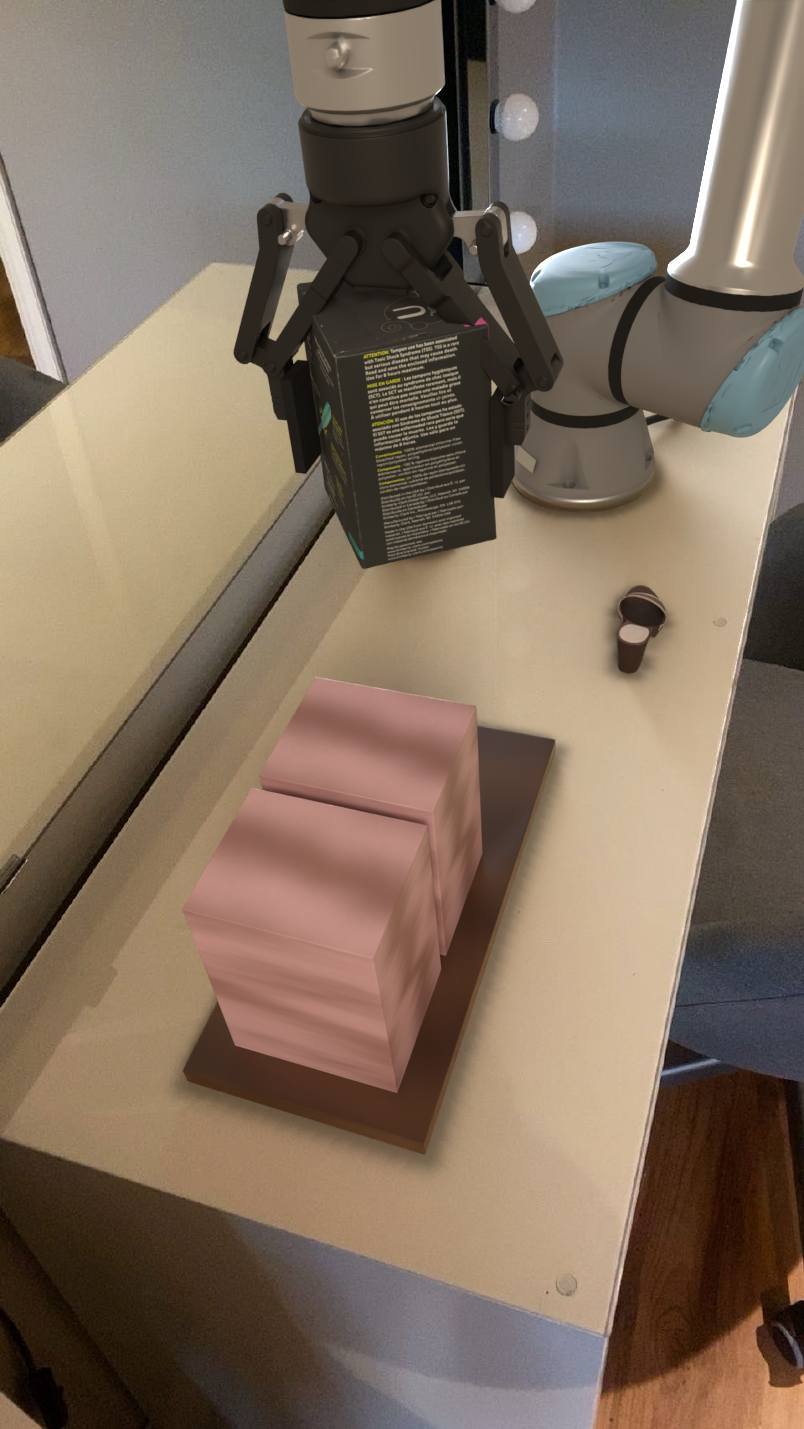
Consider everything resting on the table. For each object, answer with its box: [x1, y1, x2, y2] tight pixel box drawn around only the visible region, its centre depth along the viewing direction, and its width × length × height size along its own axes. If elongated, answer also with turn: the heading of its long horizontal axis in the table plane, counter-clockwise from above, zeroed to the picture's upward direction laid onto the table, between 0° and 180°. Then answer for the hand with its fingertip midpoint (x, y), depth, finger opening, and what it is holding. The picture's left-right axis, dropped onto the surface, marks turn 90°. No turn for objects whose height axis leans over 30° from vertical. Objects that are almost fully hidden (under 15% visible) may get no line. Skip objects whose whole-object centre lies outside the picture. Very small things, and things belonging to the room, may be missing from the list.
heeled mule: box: [616, 584, 668, 674], centre depth 92 cm, size 4×11×4 cm, turn 162°
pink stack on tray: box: [181, 676, 556, 1155], centre depth 70 cm, size 34×16×16 cm, turn 161°
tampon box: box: [296, 271, 498, 570], centre depth 66 cm, size 11×9×15 cm
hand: (403, 474), depth 67 cm, fingers closed on tampon box, 12 cm apart
